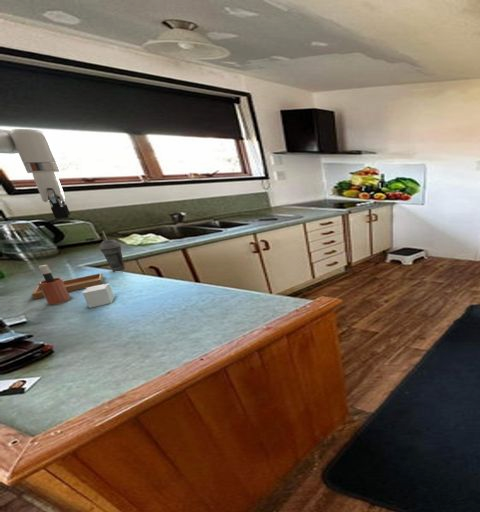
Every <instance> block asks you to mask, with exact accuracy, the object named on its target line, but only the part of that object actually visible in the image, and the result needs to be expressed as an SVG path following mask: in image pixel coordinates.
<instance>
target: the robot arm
mask: <svg viewBox="0 0 480 512" xmlns="http://www.w3.org/2000/svg"><path fill="white" fill-rule="evenodd" d="M0 154H9V155H11V154H18V155H19V157H20V160H21V162H22V164H23V167H25V168H24V169H25V171H26V173H27V174H32V177H33V180H34V183H35V185H36V188H37V190H38V193H39V195H40V197H41V200H42V202H44V203H47V202H48V203H49V206H50V210H51V212H52V215H53V217H54V219H55V220H60V219H61V220H62V219H68V218H69V216H70V215H71V212H70V210H69V208H68V205H67V203H66V202H65V199H66V198H65V193H64V190H63V187H62V185H61V182H60V179H59V177H58V175H57V173H61V170H60V167H59V164H58V162H57V160H56V157H55V155H54V153H53V150H52V147H51V145H50V142H49V140H48V138H47V135H46V134H45V133H44V131H41V130H38V129H30V128H15V129H11V130H9V129H2V128H1V129H0Z"/></svg>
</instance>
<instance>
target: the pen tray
mask: <svg viewBox="0 0 480 512" xmlns="http://www.w3.org/2000/svg"><path fill="white" fill-rule="evenodd" d="M102 273H103V272H100V273H96V274H91V275H90V274H89V275H85V276H81V277H77V278H76V277H75V278H71V279H65V280H63V282H64V284H65V286H66V288H67V291H68V293H69V292H75V291H78V290H82V289H86V288H87V287H92V286H97V285H102V284H104V275H103V274H102ZM31 296H32V298H33V300H37V299H42V298H45V296H44V294H43V292H42V290H41V288H40V286H39V285H37V286H36V287H35V288H34V290H33V292H32V293H31Z"/></svg>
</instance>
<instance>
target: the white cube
mask: <svg viewBox="0 0 480 512" xmlns="http://www.w3.org/2000/svg"><path fill="white" fill-rule="evenodd" d="M82 295H83V297H84V300H85V302H86V304H87V306H88V308H89V309H90V308H94V307H100V306H103V305H108V304H112V303H113V301H114V299H115V295H114V292H113V289H112V288H111V284H110V282H108V283H103V284H101V285H96V286H92V287H87V288H84V290H83V292H82Z"/></svg>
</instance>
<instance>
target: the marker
mask: <svg viewBox="0 0 480 512" xmlns="http://www.w3.org/2000/svg"><path fill="white" fill-rule="evenodd" d="M38 269H39V270H40V273H41V275H42V276H43V278H44V280H46V283H50V282H54V281H55V280H54V278H55V277H54V276H53V274H52V271H51V269H50V267H49V265H48V264H42V265H41V264H40V265H39V266H38Z"/></svg>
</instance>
